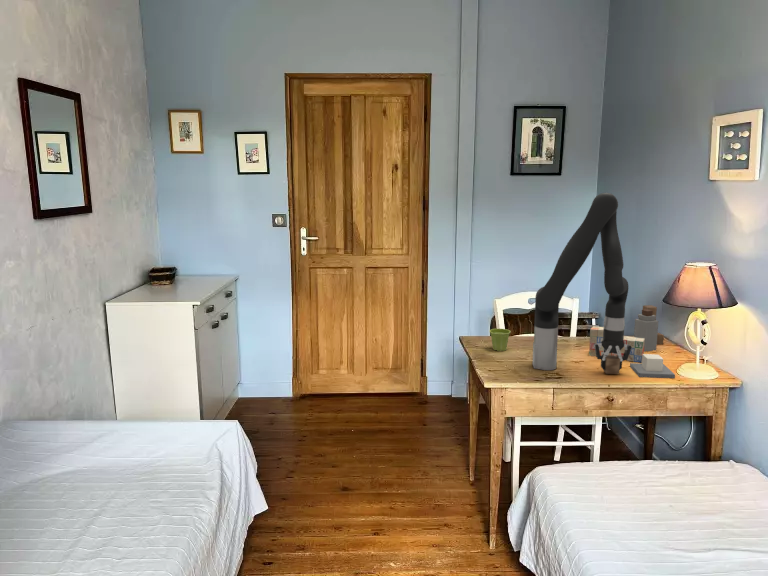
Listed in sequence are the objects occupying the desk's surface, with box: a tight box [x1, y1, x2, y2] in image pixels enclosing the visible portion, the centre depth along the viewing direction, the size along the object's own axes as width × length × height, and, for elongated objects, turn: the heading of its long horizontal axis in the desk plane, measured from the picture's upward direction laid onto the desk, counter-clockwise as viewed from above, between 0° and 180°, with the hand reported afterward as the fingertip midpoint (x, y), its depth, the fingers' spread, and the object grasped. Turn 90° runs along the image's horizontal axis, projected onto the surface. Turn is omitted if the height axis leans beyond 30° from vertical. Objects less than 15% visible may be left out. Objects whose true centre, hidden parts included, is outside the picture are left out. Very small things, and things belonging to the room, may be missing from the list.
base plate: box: [629, 353, 676, 379], centre depth 225 cm, size 13×13×6 cm
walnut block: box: [603, 355, 620, 375], centre depth 224 cm, size 5×5×6 cm
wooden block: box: [642, 304, 665, 345], centre depth 265 cm, size 9×4×18 cm, turn 95°
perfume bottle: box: [633, 309, 659, 353], centre depth 256 cm, size 7×7×18 cm
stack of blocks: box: [588, 325, 645, 364], centre depth 245 cm, size 21×6×12 cm, turn 58°
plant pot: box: [489, 328, 511, 352], centre depth 259 cm, size 9×9×9 cm
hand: (610, 369), depth 225 cm, fingers closed on walnut block, 5 cm apart
